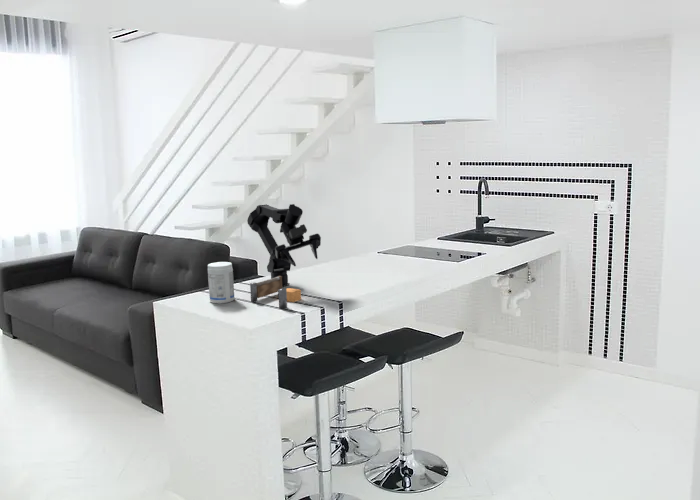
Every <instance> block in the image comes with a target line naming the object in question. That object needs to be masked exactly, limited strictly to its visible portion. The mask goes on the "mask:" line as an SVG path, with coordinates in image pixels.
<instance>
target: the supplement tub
mask: <svg viewBox="0 0 700 500" xmlns="http://www.w3.org/2000/svg"><path fill="white" fill-rule="evenodd" d="M233 271H234V269H233V263H232V262H230V261H229V262H228V261H217V262H211V263H208V264H207V280H208V292H209V293H208V294H209V301H210V302H211V303H213V304H228V303H230V302H233V301H234V300H235V286H234V285H235V284H234V272H233Z"/></svg>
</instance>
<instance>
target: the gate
mask: <svg viewBox="0 0 700 500" xmlns="http://www.w3.org/2000/svg"><path fill="white" fill-rule="evenodd" d="M255 283H256V285H257V299H260V298H263V297H266V296H270V295H273V294H275V293H278V289H282V288H283V287H282V276H277V277H275V278H272V279H271V278H269V279H266V280H262V281H259V282H255Z"/></svg>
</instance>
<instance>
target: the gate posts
mask: <svg viewBox="0 0 700 500" xmlns="http://www.w3.org/2000/svg"><path fill="white" fill-rule="evenodd" d="M256 283H257V282H249V288H250V303H257V302H258V298H257V285H256ZM286 289H287V288H284V287H282V289H278V292H277V293H278V309H280V310H284V309H285V310H287V308H288V301H287V290H286Z"/></svg>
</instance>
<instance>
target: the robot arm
mask: <svg viewBox="0 0 700 500" xmlns="http://www.w3.org/2000/svg"><path fill="white" fill-rule="evenodd" d="M302 215H303V209H302V208H300V206H297V205H295V203H292V204H289V205H288V208H277V207H274V206H272V205H271V206H270V205H269V204H266V203H265V204H259V205H256V208H254V209H253V210H252V211H251V212H250V213H249V215H248V217H247V219H246V221H247V224H248V227H250V229H251V230H252V231H253V232H256V233H258V236H259V237H260V239H261V241H262V243H263V245H264V246H265V249H266V251H267V252H268V254H269V260H268V261H269V262H268V263H267V266H266V269H267V272H268V273H270V279H272V278H275V277H277V276H282V288H284V287H286V286H289V285H290V283H289V277H288V272H290V271H291V265H292V266H293V267H297V264H296V262H295V260H294V259H293V257H292V255H291V253H290V252H291V251H294V250H298V249H301V248H304V247H307V246H310V249H311V252H312V254H313V256H314V258H315V259H316V260H318V258H319V257H318V249H319V247H320V246H321V242H322V241H321V240H322V237H321V235H320V234H319V233H314V234H310V235H309V236H308V238H309V239H307V240H304V239H305V237H304V234H306V233H307V232H308V229H307V227H306V225H305V224H301V225H299V222H300V220H301V218H302ZM270 219H272V222H274V224H280V229H279V232H280V233H283V235H284V237H285V238H286V239H285V240H286V242H287V244H289V245H287V246H286V244H284V243H283V244H280V245H279V244H278V242H277V241H276V239H275V238H274V236H273V234H272V233H271V231H270V228H269V227H268V224H269V221H270ZM297 225H299V226H298V227H297Z"/></svg>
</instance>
